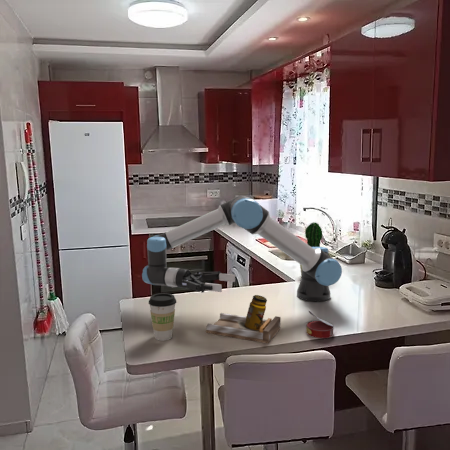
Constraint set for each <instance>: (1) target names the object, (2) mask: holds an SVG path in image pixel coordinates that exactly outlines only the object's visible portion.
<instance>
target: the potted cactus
mask: <svg viewBox="0 0 450 450" xmlns="http://www.w3.org/2000/svg"><path fill="white" fill-rule="evenodd" d="M304 230H305V231H304V232H305V233H304V236H303V237H305V239H306V244H308V245H309V246H311V247H321V241H322V240H323V233H324V231H323V229H322V226H321V225H319V223H318V222H315V221H313V222H310V223H309V224H308V225H307V226H306V228H305V229H304ZM299 266H300V267H299V268H300V272H301V271H302V265H301V264H299Z"/></svg>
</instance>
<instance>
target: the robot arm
mask: <svg viewBox="0 0 450 450" xmlns="http://www.w3.org/2000/svg"><path fill="white" fill-rule="evenodd" d="M233 224H236V225H237V226H238V227H240V228H242V229H244V230H246V231H247V232H248V233H250V234H251V235H258V236H260V237H262V238H263V239H264V240H265V241H267V242H269V244H271V245H273V247H276V248H277V249H278V250H279V251H281V252H283V253H284V254H285V255H287V256H288V257H290V258H291V259H292V260H293V261H295V262H296V263H298V264H299V265H300V264H301V265H302V271H301V270H300V275H301V276H300V278H301V279H300V282H299V284H298V287H297V290H296V297H297V298H298V299H301V300H304V301H307V302H324V301H325V302H326V301H328V300H330V299H331V289H330V286H333V285H335V284H336V283H337V282H339V280H340V279H341V277H342V273H343V269H342V266H341V264H340V262H339V261H338V260H337V259H335V258H333V257H332V256H331V255H329V248H328V247H324V246H319V247H311V246H309V245H308V244H307V242H305V241H304V240H302V239H301V238H300V237H298V236H297V235H295V234H294V233H293V232H291V231H290V230H289V229H287V228H286V227H284V225H282V224H280V223H279V221H276V220H275V219H273V218H272V217H271V215H270V211H269V210H267V209H266V208H265V207H263V206H262V205H260V204H259V203H258V201H257V200H255V199H253V198H251V197H249V196H246V195H238V196H235V197H233V198H231V199H229V200H228V201H226V202H224V203H221V204H219V205H218V208H217V209H214V210H212V211H210V212H208V213H205V214H203V215H201V216H198V217H197V218H194V219H192V220H190V221H188V222H186V223H183V224H181V225H179V226H176V227H174V228H172V229H170V230H168V231H167V230H166V231H165V232H164V233H161V234H156V235H154V236H151V237H148V239H147V241H146V243H147V244H146V248H147V249H146V250H147V262H148V263H147V265H146V266H144V268H143V269H142V273H141V277H142V281H143V282H144V283H146V284H149V285H153V286H162V287H164V286H166V287H171V288H172V289H173V288H179V289H181V288H182V289H190V290H192V291H195V292H198V293H205V291H208V292H216V293H221V292H222V291H223V289H222V288H223V287H222V285H223V283H222V284H219V283H211V282H210V281H216V280H218V281H222V282H223V281H224V282H232V283H235V282H236V275H235V274H231V273H230V274H229V273H222V272H221V271H220V270H218V271H196V272H194V273H192V272H191V270H190V269H188V268H180V267H170V266H169V267H167V265H168V264H167V251H169V250H171V249H174V248H175V247H178V246H180V245H182V244H184V243H187V242H190V241H192V240H194V239H197V238H199V237H201V236H202V235H205V234H207V233H209V232H211V231H214V230H215V229H218V228H220V227H223V226H224V225H226V226H230V225H233ZM207 281H209V282H207ZM204 282H205V283H204Z"/></svg>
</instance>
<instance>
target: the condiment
mask: <svg viewBox="0 0 450 450" xmlns="http://www.w3.org/2000/svg"><path fill="white" fill-rule="evenodd" d="M267 301H268V300H267V297H265V296H263V295H258V294H254V295H253V296H252V299H251V301H250V302H249V306H248V310H247V314H246V315H245V317H246V320H245V322H241V321H238V324H239V327H240V328H241V329H246V330H250V331H256V332H260V327H261V324H262V320H263V319H264V316H265V312H266V308H267V306H266V305H267Z"/></svg>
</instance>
